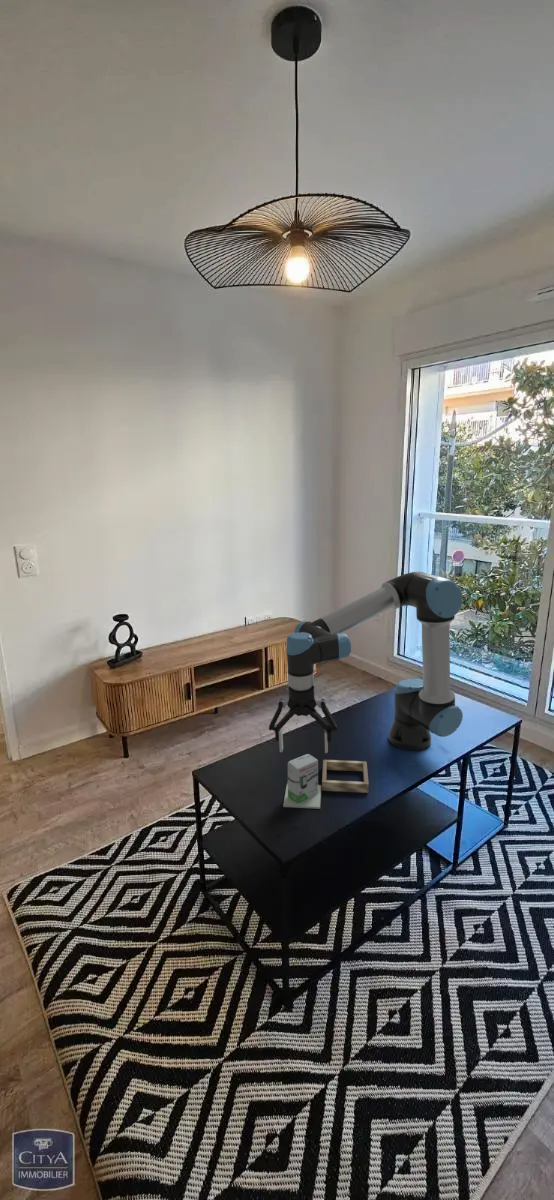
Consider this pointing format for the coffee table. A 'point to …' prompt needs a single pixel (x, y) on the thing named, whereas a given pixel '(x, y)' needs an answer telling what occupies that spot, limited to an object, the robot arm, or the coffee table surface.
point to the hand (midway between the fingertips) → (303, 750)
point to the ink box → (302, 778)
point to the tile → (304, 801)
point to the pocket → (345, 785)
